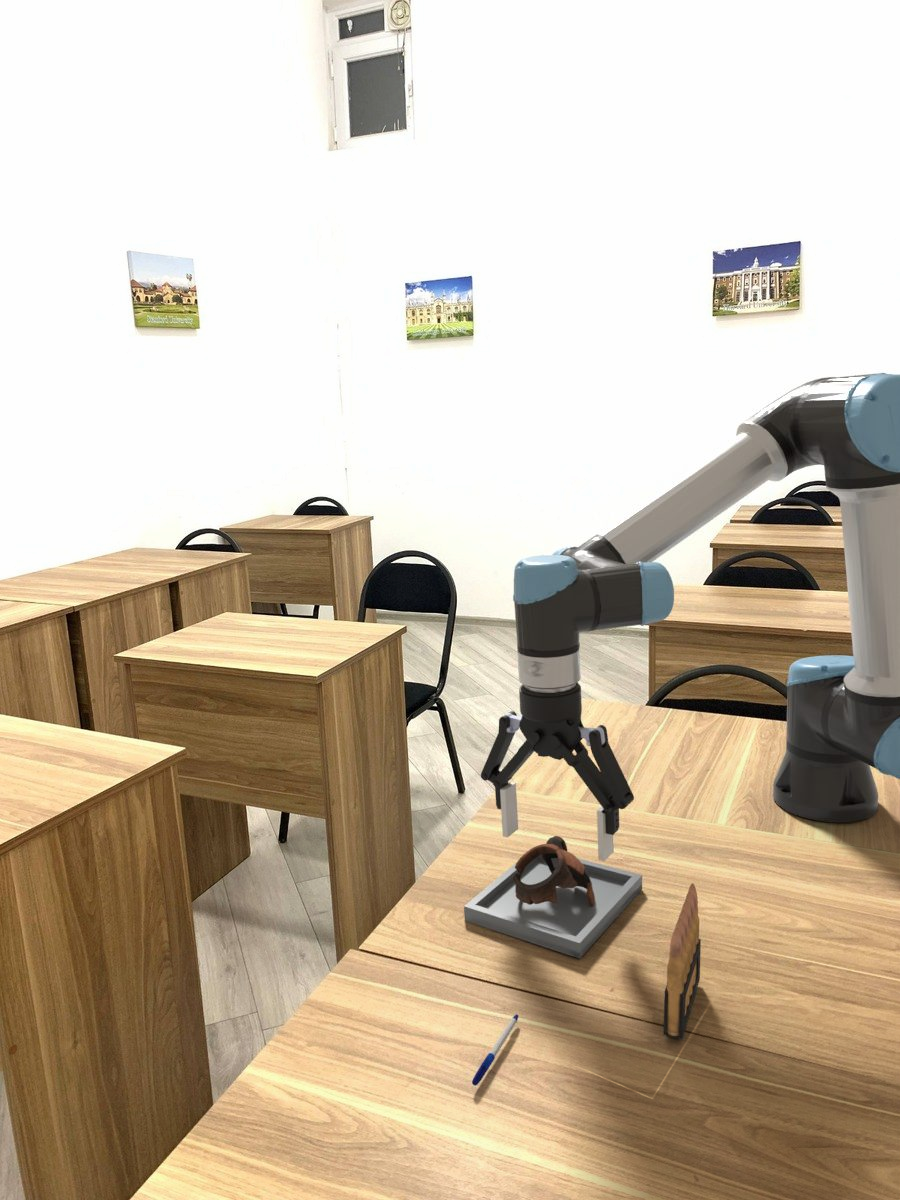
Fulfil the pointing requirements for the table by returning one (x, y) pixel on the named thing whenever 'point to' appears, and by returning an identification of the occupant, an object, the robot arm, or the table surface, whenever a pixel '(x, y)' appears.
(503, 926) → the tray
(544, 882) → the broken brown clay pot
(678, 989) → the ammunition clip
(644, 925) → the table surface
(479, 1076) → the ballpoint pen
